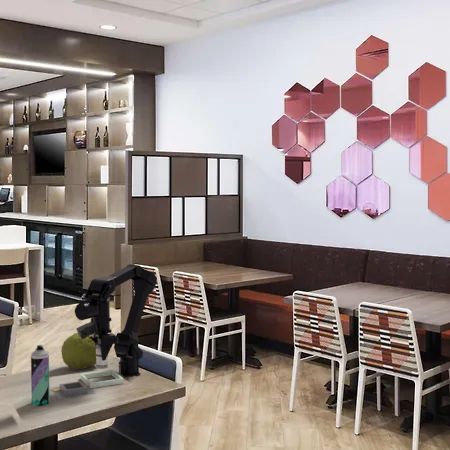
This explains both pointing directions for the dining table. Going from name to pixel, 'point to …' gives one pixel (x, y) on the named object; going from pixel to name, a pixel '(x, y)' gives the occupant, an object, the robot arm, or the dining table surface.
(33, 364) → the spray can
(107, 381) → the tray
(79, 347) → the fruit
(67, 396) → the holder
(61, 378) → the dining table surface
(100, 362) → the cylinder
